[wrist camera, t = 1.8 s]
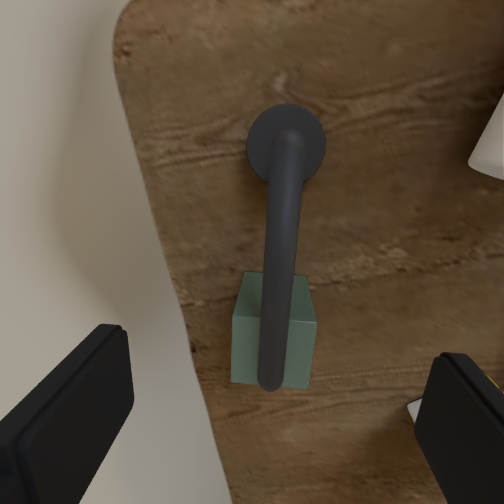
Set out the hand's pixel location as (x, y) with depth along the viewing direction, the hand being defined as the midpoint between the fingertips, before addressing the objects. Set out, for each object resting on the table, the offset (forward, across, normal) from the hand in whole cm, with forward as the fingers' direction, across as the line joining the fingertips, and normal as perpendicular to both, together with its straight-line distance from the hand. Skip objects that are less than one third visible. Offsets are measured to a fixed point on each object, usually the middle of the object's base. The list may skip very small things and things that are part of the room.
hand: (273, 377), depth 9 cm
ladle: (+14, 0, -1) cm, 14 cm away
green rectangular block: (+14, 0, +5) cm, 15 cm away
